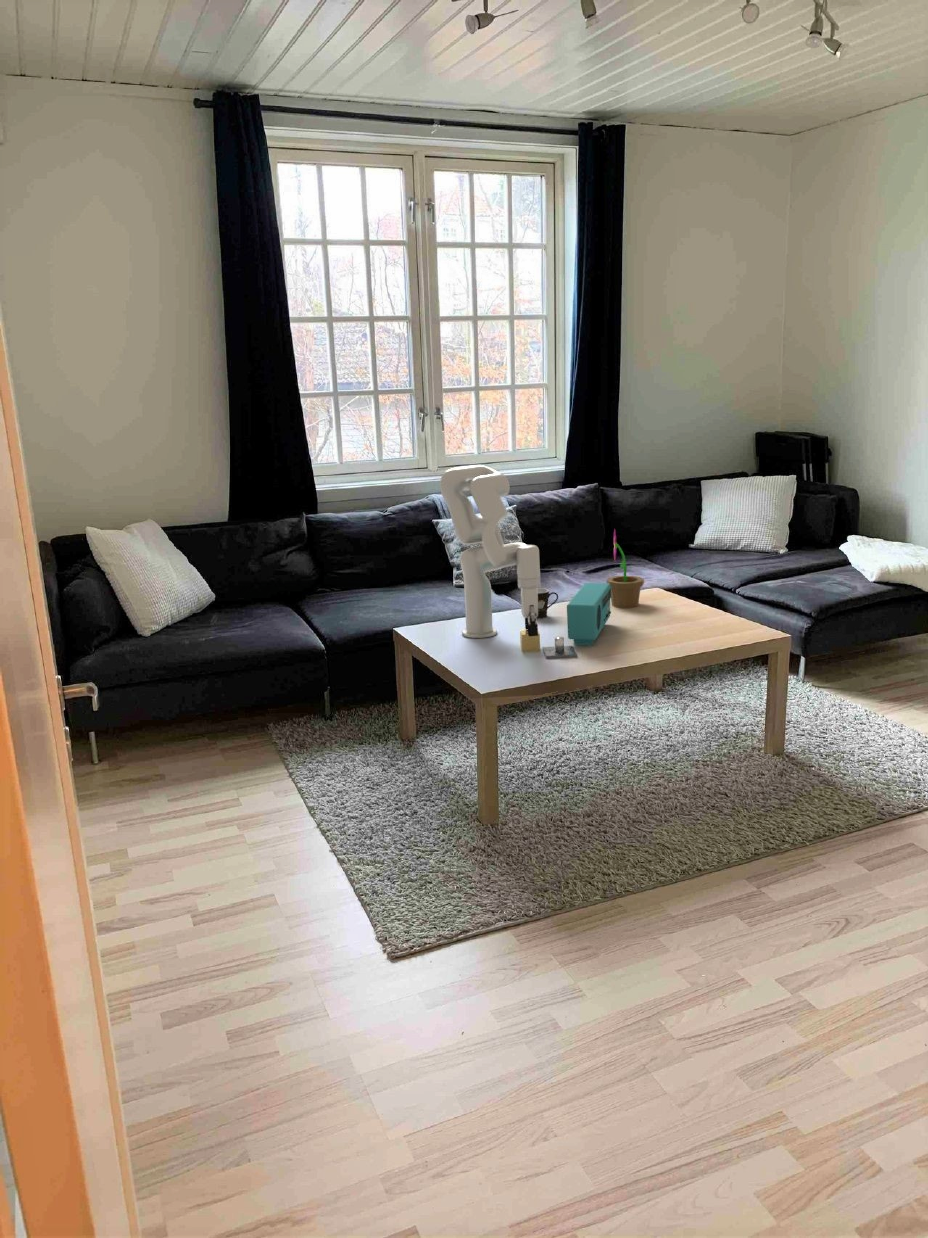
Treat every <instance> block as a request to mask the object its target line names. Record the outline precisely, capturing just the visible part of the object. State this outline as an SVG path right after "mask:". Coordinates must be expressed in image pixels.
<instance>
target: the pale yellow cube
mask: <svg viewBox="0 0 928 1238" xmlns="http://www.w3.org/2000/svg"><path fill="white" fill-rule="evenodd" d="M519 631H520V632H519V633H520V634H519V635H520V637H519V639H520V640H519V641H520V649H521V652H522V653H525V652H526V653H527V652H531V653H532V652H541V634H540V632H539V630H538V636H528V629H520V630H519Z"/></svg>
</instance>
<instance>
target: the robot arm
mask: <svg viewBox="0 0 928 1238" xmlns="http://www.w3.org/2000/svg"><path fill="white" fill-rule="evenodd" d="M439 482H440V483H439V488H440V492H441V496H442V498H443V501H444V503H445V504H446V507H447V509H448V511H449V513H450V514H449V515H450V518H451V521H452V524H453V528H454V531H455V535H456V537H457V540H458V541H459V543H460V544H462V545H464V546H465V545H468V546H469V545H475V544H479V543H481V544H482V545H478V546H474V547H473V546H472V547H469V548H467V549H465V550H464V551H462V553H461V554H460V559H459V560H460V567H461V573H462V576H463V586H464V587H463V589H464V604H465V605H464V606H465V607H464V610H465V628H464V629H462V630H461V633H462V636H463V637H466V638H470V639H471V638H472V639H484V638H489V637H490V638H491V637H493V636H495V635H497V633H498V629H497V628H495V627H494V626H493V607H492V605H493V604H492V586H491V581H490V580H489V578H488V577H487V574H486V573H490V572H494V571H498V570H501V569H503V568H507V567H513V566H516V570H517V571H516V574H517V587H518V589H520V606H521V610H520V611H521V612H520V613H521V615H522V617H523V618H524V628H525V629H524V630H528V636H538V631H539V627H538V621H537V620H538V618H536V617H537V616H538V592H537V588H541V587H542V586H541V568H540V567H541V565H540V564H541V563H540V549H539V547H538V546H537V545H535V544H526V543H524V542H521V541H517V542H510V543H504V539H503V537H502V533H501V530H500V526H499V524H500V523H501V522H503V521H504V520H505V519H506V517H507V516H508V511H507V508H506V506H505V504H504V503H503V499H502V498H504V497H506V496H508V495H509V492H510V490H511V489H510V487H511V486H510V482H509V480H508V478H507V477H506V475H504V474H503V473H502V472H499V471H497V470H495V469H492V468H491V467H488V466H486V465H482V464H474V465H466V466H457V467H453V468H450V469H447V470H446V471H445V472H443V474H442V475H441V478H440V481H439ZM466 491H467V492H468V491H469V492H470V494H471V496H472V499H473V500H474V503H475V504H476V507H477V509H478V512H479V513H480V515H476V512H475V509H474V506H473V503H472V502H471V500H470V499H469V497H467V496H466V495H465V494H464V493H463V492H466Z"/></svg>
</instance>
